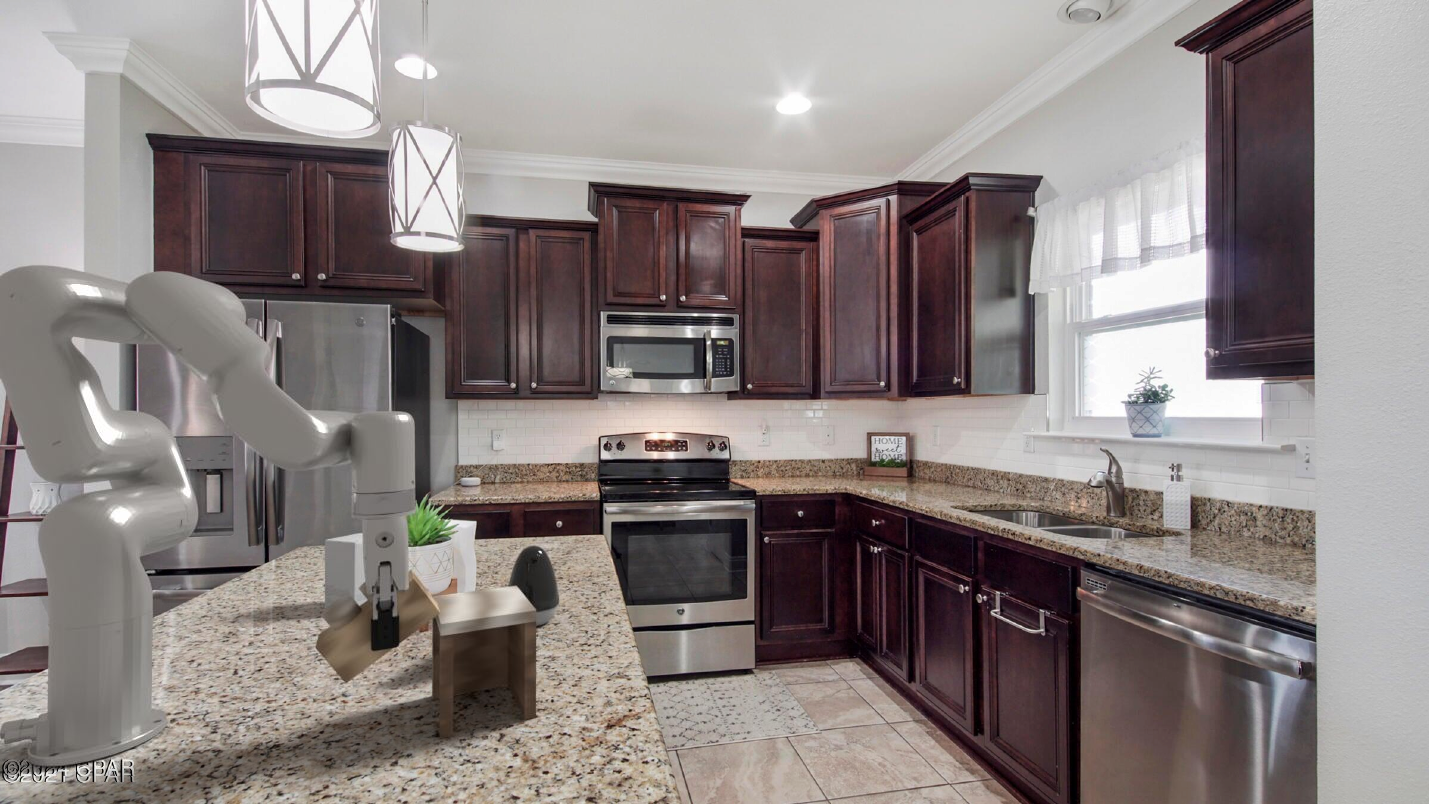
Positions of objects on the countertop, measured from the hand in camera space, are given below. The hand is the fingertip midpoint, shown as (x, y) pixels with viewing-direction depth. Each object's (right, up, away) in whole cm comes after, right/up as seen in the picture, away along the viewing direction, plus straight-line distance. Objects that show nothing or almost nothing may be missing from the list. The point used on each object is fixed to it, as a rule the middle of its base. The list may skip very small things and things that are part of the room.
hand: (385, 639), depth 84 cm
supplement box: (-33, -13, +52) cm, 63 cm away
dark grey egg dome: (+8, -12, +41) cm, 44 cm away
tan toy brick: (+1, 0, +1) cm, 1 cm away
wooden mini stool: (+11, -11, +6) cm, 17 cm away
